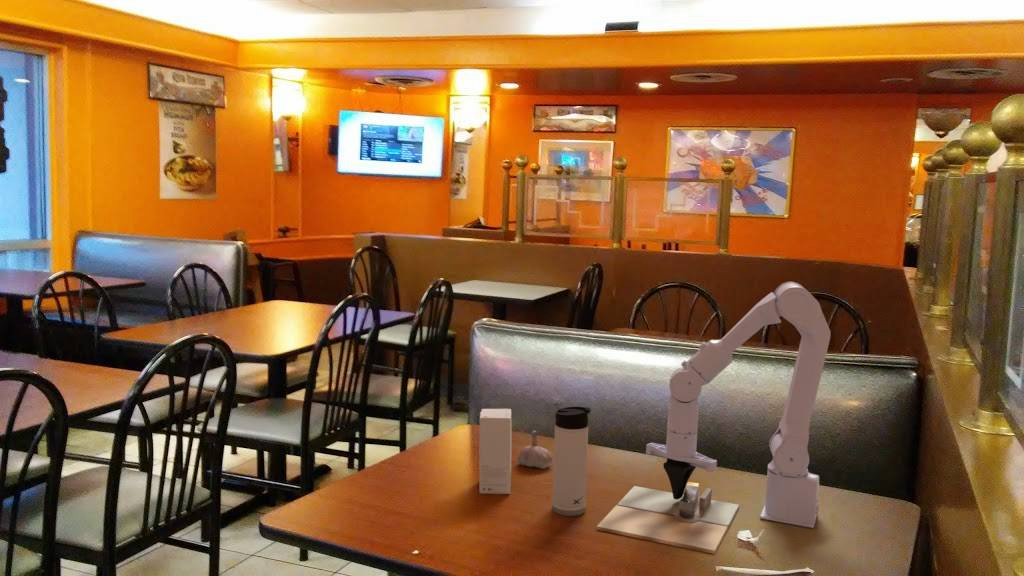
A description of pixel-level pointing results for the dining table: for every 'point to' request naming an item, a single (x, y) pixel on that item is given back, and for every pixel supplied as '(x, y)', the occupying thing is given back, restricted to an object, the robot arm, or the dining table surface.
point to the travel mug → (570, 461)
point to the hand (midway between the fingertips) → (677, 497)
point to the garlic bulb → (535, 455)
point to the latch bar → (689, 500)
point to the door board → (670, 519)
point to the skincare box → (495, 451)
